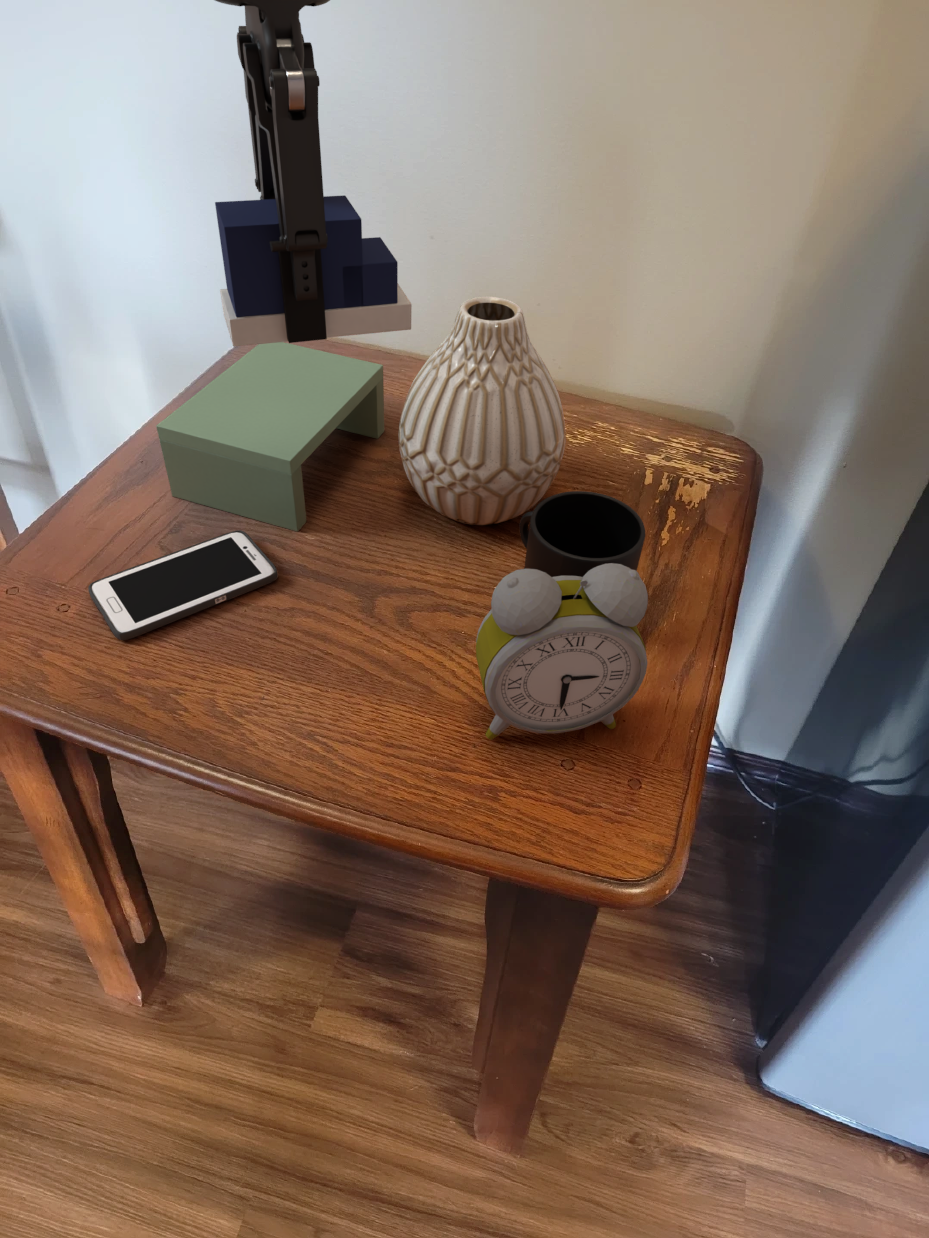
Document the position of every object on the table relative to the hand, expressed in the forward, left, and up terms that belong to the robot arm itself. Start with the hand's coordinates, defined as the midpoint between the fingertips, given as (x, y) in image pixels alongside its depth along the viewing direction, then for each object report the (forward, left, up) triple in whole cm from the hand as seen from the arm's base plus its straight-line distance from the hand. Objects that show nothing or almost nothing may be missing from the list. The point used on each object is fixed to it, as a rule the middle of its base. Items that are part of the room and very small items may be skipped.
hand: (299, 320), depth 62 cm
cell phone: (-6, -11, -23) cm, 26 cm away
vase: (+4, +17, -23) cm, 29 cm away
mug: (+19, +11, -23) cm, 32 cm away
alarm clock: (+26, -1, -23) cm, 35 cm away
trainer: (+1, +1, 0) cm, 1 cm away
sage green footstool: (-15, +8, -23) cm, 28 cm away
